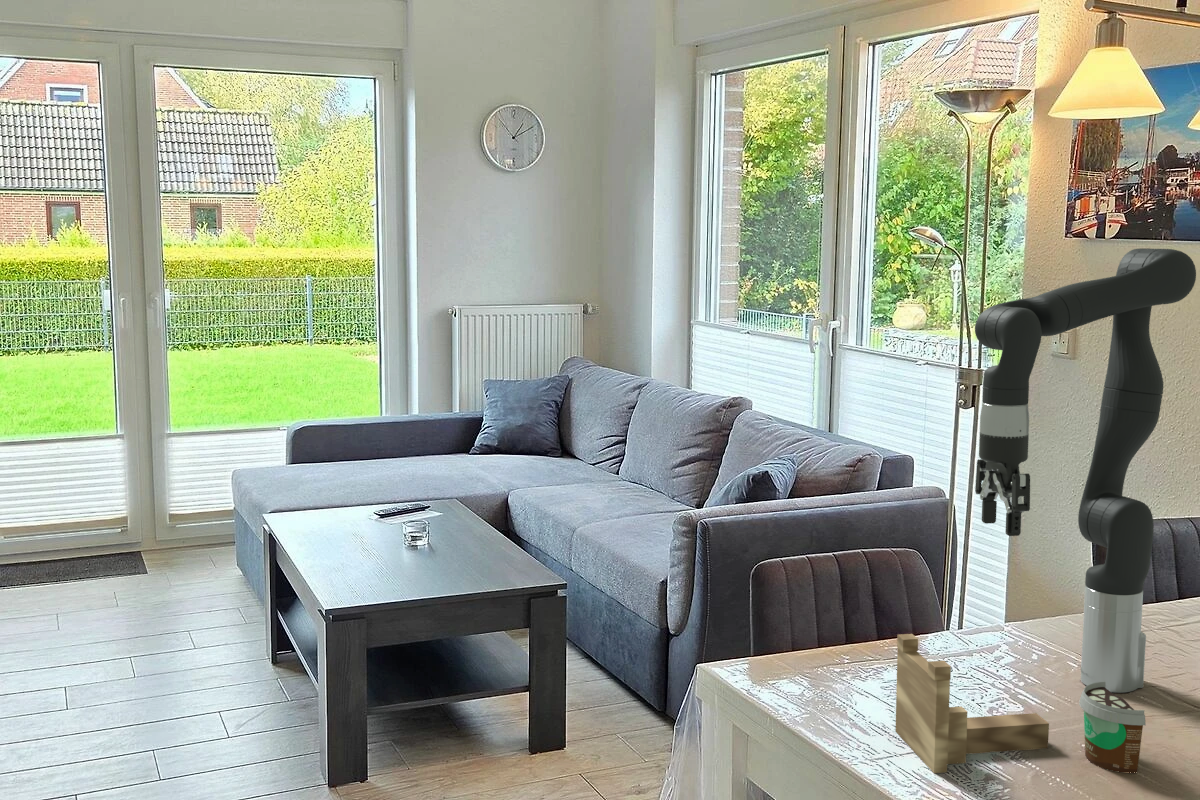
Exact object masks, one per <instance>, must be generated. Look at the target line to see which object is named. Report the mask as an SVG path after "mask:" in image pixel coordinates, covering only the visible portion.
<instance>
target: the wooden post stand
mask: <svg viewBox="0 0 1200 800" xmlns="http://www.w3.org/2000/svg"><path fill="white" fill-rule="evenodd" d="M896 636H897V641H896V642H897V643H896V647H897V654H896V655H897V657H896V658H897V659H896V660H897V661H896V692H895V693H896V697H895V733H896V734H897V735H898V736H899V737H900V738H901V739H902V740H903V742H905V743H906V745H907V746H908V747H909V748H910V749H911V750H912V751H913V752H914V754H916V756H918V758H919V759H920V760H921V761H922V763H924V764H925V765H926V766H927V768H929V769H930V771H931V772H932V773H933V774H942V773H948V765H956V764H966V763H967V754H966V740H967V718H968V711H967V710H966V709H965V708H964V707H963V706H950V697H951V696H950V694H951V693H950V692H951V676H952V675H951V673H952V671H951V670H952V666H951V665H950V664H949V663H948V662H947V661H945V660H933V661H932V660H931V661H928V660H927V659H926V658H925V657H924V656H922V655H921V654H920V653H919V652H918V651H919V638H918V637H917V636H916V635H914V634H913V633H902V634H901V633H900V634H899V633H898V634H897V635H896Z"/></svg>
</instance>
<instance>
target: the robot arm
mask: <svg viewBox="0 0 1200 800" xmlns="http://www.w3.org/2000/svg"><path fill="white" fill-rule="evenodd" d="M1116 270H1117V271H1116V274H1115V275H1114V276H1108V277H1104V278H1099V279H1098V278H1097V279H1092V280H1086V281H1080V282H1075V283H1072V284H1067V285H1064V286H1061V287H1057V288H1055V289H1052V290H1049V291H1047V292H1044V293H1042V294H1038V295H1036V296H1033V297H1027V298H1026V297H1025V298H1022V299H1021V298H1020V299H1016V300H1011V301H1006V302H1002V303H998V304H995V305H992V306H990V307H988V308H986V309H985V310H983V311H982V312H981V313H980V315H979V316H978V317H977V319H976V322H975V325H974V334H975V337H976V339H977V340H978V342H979V343H980V344H981V345H983V347H986V348H987V349H990V350H996V351H1001V356H1000V357H999V362H998V364H997V365H991V366H989V367H988V368H986V369H985V371H984V373H983V380H982V401H981V409H980V416H979V441H978V456H979V457H978V458H979V459H977V460H976V469H975V470H976V471H975V472H976V474H975V475H976V476H975V486H974V489H975V494H976V495H979V499H980V500H981V522H982V523H983V524H986V525H987V524H995V523H996V522H997V506H998V505H997V503H998V501H997V499H998V497H999V499H1000V500H1001V501H1002V502H1004V506H1005V510H1006V513H1005V515H1006V516H1005V534H1006V535H1007V536H1009V537H1017V536H1018V537H1019V536H1020V535H1021V532H1022V531H1021V530H1022V514H1023V513H1025V512H1029V511H1030V510H1031V475H1030V473H1021V472H1020V464H1021V463H1024V462H1026V461H1028V458H1029V441H1030V440H1029V437H1030V434H1029V433H1030V411H1029V410H1030V409H1029V394H1030V392H1029V391H1030V377H1031V375H1032V371H1033V368H1034V365H1035V363H1036V359H1037V356H1038V352H1039V349H1040V345H1041V341H1042V337H1053V336H1057V335H1060V334H1062V333H1066V332H1068V331H1071V330H1074V329H1076V328H1079V327H1082V326H1085V325H1087V324H1090V323H1092V322H1096V321H1098V320H1099V321H1100V320H1101V319H1105V318H1108V317H1112V318H1113V319H1112V329H1111V340H1110V347H1109V353H1108V354H1109V355H1108V356H1109V357H1108V362H1107V363H1108V364H1107V370H1106V375H1105V380H1104V384H1103V390H1102V398H1101V403H1100V412H1099V419H1098V426H1097V431H1096V432H1097V433H1096V437H1095V442H1094V448H1093V454H1092V459H1091V462H1090V463H1091V464H1090V467H1089V471H1088V475H1087V478H1086V481H1085V485H1084V488H1083V489H1084V490H1083V492H1082V496H1081V501H1080V505H1079V509H1078V516H1077V517H1078V519H1077V522H1078V529H1079V532H1080V534H1081V535H1082V537H1083V539H1085V540H1086V541H1087V542H1090V543H1092V544H1095V545H1098V546H1101V547H1104V548H1107V549H1106V555H1105V560H1104V561H1105V562H1104V563H1103V564H1102V563H1101V564H1097V565H1093V566H1090V567H1088V569H1087V570H1086V572H1085V577H1084V579H1085V581H1084V582H1085V583H1084V600H1083V601H1084V602H1083V617H1082V618H1083V620H1082V621H1083V623H1082V640H1081V642H1082V643H1081V660H1080V661H1081V664H1080V665H1081V666H1080V681H1081V683H1083V684H1084V685H1085V686H1087V685H1089V684H1091V683H1095V682H1103V681H1105V682H1106V689H1107V690H1109V691H1110V692H1111V693H1119V694H1120V693H1129V692H1133V691H1136V690H1137V689H1141V688H1142V689H1143V688H1144V680H1145V679H1144V678H1145V661H1146V644H1147V636H1146V634H1145V633H1144V632H1143V631H1142V621H1143V620H1142V618H1143V598H1144V596H1143V595H1144V584H1145V581H1146V579H1147V577H1148V574H1149V571H1150V566H1151V556H1152V548H1153V542H1154V541H1153V540H1154V525H1155V524H1154V517H1153V514H1152V513H1153V512H1152V511H1151V509H1150V507H1149V505H1147V504H1146V503H1145V502H1143V501H1141V500H1138V499H1135V498H1130V497H1128V496H1123V492H1124V491H1123V490H1124V484H1125V479H1126V474H1127V472H1128V468H1129V466H1130V464H1131V461H1132V460H1133V459H1134V457H1135V456H1136V454H1137V453H1138V451H1139V450H1140V449H1141V448H1142V447H1143V445H1144V444H1145V443H1146V441H1147V440H1148V439H1149V438H1150V436H1151V434H1152V433H1153V432H1154V430H1155V428H1156V426H1157V424H1158V422H1159V418H1160V413H1161V407H1162V406H1161V405H1162V400H1163V394H1164V379H1163V373H1162V370H1161V367H1160V363H1159V361H1158V359H1157V356H1156V353H1155V351H1154V347H1153V345H1152V340H1151V336H1150V324H1151V323H1150V322H1151V312H1152V308H1153V307H1154V306H1159V305H1169V304H1175V303H1178V302H1180V301H1182V300H1183V299H1185V298H1186V297H1187V296H1188V295H1189V294H1190V293H1191V292H1192V290H1193V288H1194V286H1195V283H1196V281H1197V268H1196V265H1195V263H1194V261H1193V259H1192V258H1191V257H1190V256H1189V255H1188V254H1187V253H1185V252H1183V251H1181V250H1177V249H1174V248H1173V249H1172V248H1147V247H1146V248H1140V247H1139V248H1134V249H1131V250H1129V251H1127V252H1126V253H1125V254H1124V255H1123V257H1122V258H1121V260H1120V262H1119V264H1118V267H1117V269H1116ZM1022 498H1023V499H1022Z"/></svg>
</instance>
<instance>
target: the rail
mask: <svg viewBox="0 0 1200 800" xmlns="http://www.w3.org/2000/svg"><path fill="white" fill-rule="evenodd" d="M1049 732H1050V723H1049V722H1048V721H1046V720H1045V719H1044V718H1043V717H1042V716H1040V715H1039V714H1038V713H1037V712H1035V713H1034V712H1033V713H1020V714H1019V713H1018V714H1017V713H1016V714H1004V715H1003V714H1002V715H988V716H985V715H984V716H973V717H967V740H966V755H973V754H987V753H1001V752H1002V753H1003V752H1014V751H1030V750H1043V749H1049V734H1050V733H1049Z"/></svg>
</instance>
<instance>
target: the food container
mask: <svg viewBox="0 0 1200 800" xmlns="http://www.w3.org/2000/svg"><path fill="white" fill-rule="evenodd" d="M1078 704H1079V705H1078V706H1080V708H1081V709H1082V710H1083V721H1084V722H1083V725H1084V726H1083V727H1084V728H1083V731H1084V756H1085V758H1086V760H1087V759H1088V762H1089V761H1090V763H1091V764H1092V765H1094V766H1096V767H1098V766H1099V768H1100V767H1101V769H1103V768H1104V770H1106V769H1108V770H1107V771H1110V770H1113V771H1112V772H1114V771H1119V772H1118V773H1120V772H1129V773H1128V774H1137V773H1138V770H1139V761H1140V753H1141V746H1142V737H1143V728H1144V726H1146V714H1145V710H1144V709H1138V710H1137V709H1134V708H1133V707H1132V706H1131V705H1130V704H1129V703H1128V702H1127V700H1125V699H1124V698H1122V697H1121V696H1119V695H1116V693H1115V694H1114V692H1110V691H1109V690H1107V689H1106V682H1105V681H1103V682H1095V683H1091V684H1089V685H1085V686H1084V688H1083V690H1082V692H1081V695H1080V697H1079V701H1078ZM1130 772H1131V773H1130ZM1134 772H1135V773H1134ZM1136 772H1137V773H1136Z"/></svg>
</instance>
